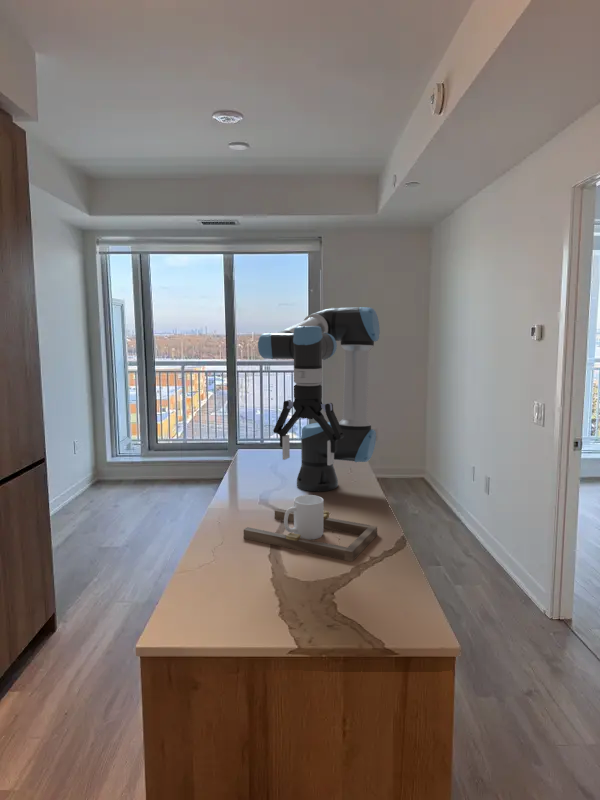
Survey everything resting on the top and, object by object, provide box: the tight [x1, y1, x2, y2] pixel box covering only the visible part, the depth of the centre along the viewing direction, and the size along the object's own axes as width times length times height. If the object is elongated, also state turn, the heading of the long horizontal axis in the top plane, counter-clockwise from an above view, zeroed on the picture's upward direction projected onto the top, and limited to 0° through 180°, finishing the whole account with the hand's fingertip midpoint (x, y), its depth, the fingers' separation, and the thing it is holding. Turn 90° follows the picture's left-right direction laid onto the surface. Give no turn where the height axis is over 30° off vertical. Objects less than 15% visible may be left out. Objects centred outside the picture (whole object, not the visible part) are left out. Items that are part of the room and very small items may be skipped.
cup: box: [283, 494, 325, 541], centre depth 145 cm, size 8×12×10 cm
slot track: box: [243, 508, 378, 562], centre depth 146 cm, size 22×32×3 cm
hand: (307, 461), depth 143 cm, fingers open, 13 cm apart
